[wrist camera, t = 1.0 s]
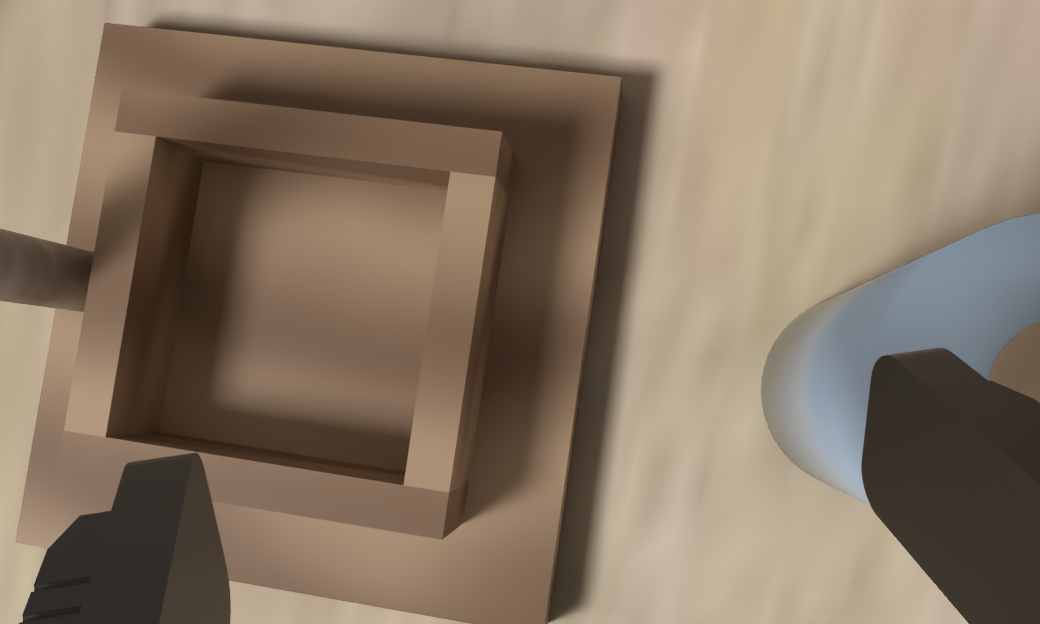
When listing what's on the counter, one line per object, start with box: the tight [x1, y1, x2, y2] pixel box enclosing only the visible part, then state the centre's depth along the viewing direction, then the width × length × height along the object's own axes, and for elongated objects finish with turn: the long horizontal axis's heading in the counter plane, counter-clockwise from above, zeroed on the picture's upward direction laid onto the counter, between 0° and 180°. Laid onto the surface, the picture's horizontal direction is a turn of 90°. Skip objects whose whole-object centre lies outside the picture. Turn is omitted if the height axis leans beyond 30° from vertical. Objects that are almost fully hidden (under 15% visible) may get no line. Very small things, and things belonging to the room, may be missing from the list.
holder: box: [0, 23, 622, 624], centre depth 22 cm, size 16×16×18 cm
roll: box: [761, 213, 1040, 506], centre depth 22 cm, size 6×6×14 cm
